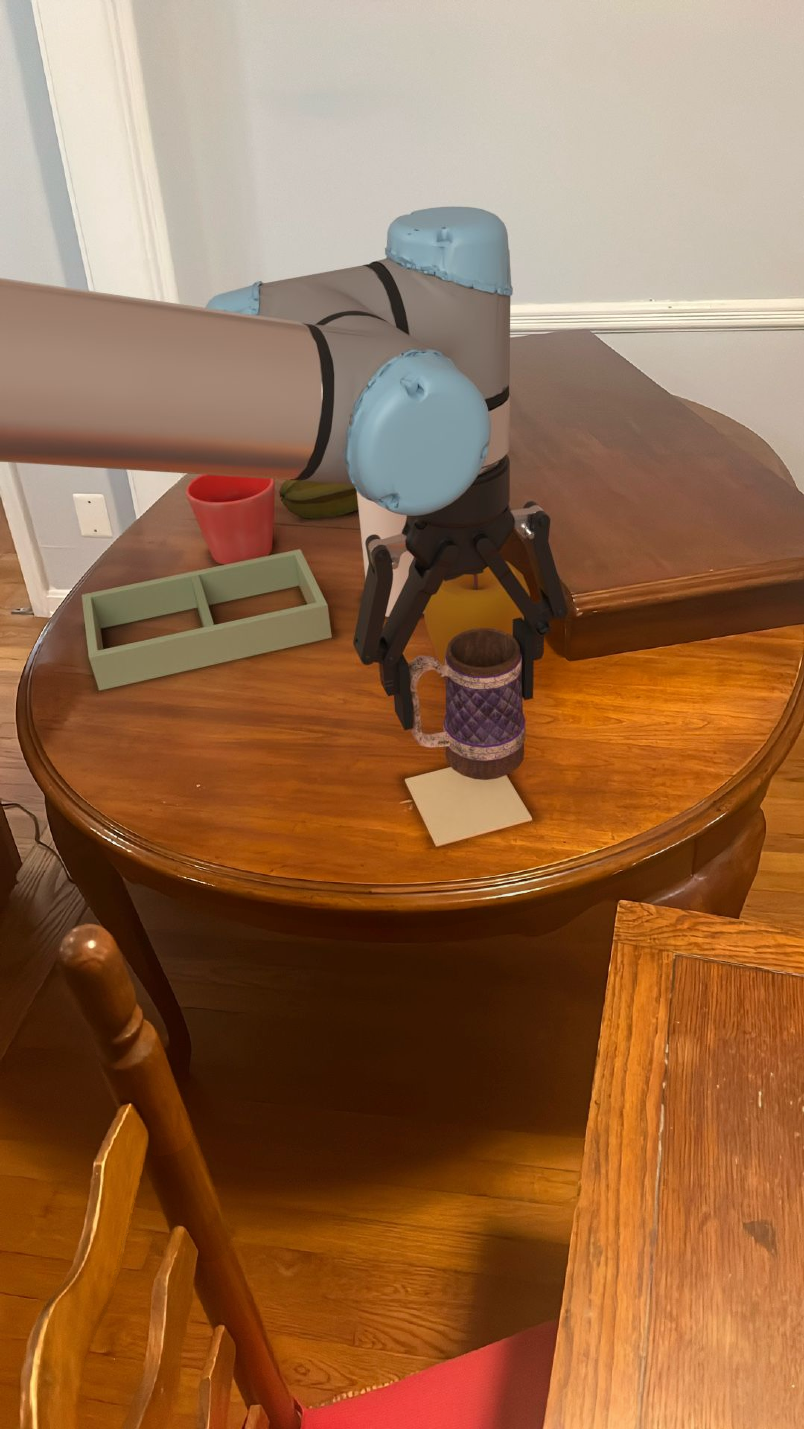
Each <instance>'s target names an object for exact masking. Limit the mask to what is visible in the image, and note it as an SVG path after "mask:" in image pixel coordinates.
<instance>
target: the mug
mask: <svg viewBox="0 0 804 1429" xmlns="http://www.w3.org/2000/svg"><path fill="white" fill-rule="evenodd" d="M408 664H409V676H410V689H411V702H412V716H413V729H410V731H411V735H412V737H413V739H414V740H415V741H416V743H417V744H418V745H419V746H422V747H426V748H443V747H445V748H444V750H445V752H444V754H445V755H444V756H445V759H446V763H447V764H448V765H449V767H452V769H453V770H455V771H456V772H458V773H460V774H461V775H463V776H466V777H469V778H473V779H479V780H490V779H497V778H500V777H503V776H505V775H507V776H508V775H511V774H512V773H514V771H516V770H517V769H519V768H520V766H521V764H522V763H523V762H524V756H525V740H526V733H527V732H526V717H525V715H524V708H523V707H524V706H523V704H524V703H523V697H522V675H521V669H522V654H521V652H520V646H519V644H518V641H517V640H516V639H515V638H514V637H513V636H512V635H510V634H508V633H506V632H504V631H501V630H496V629H492V628H478V629H471V630H468V631H465V632H462V633H460V634H458V635H457V636H455V637H453V638H452V640H451V641H450V642H449V643H448V646H447V652H446V656H445V666H442V665H441V663H440V661H439V660H438V658H437V657H433V656H430V655H417V656H415V658H413V659H412V660H411V661H410V662H409V663H408ZM432 670H433V671H436V672H437V673H438V675H439V676H440V677H441V678H445V714H444V718H443V723H442V724H443V726H442V727H443V728H442V729H443V731H442V732H435V733H430V734H429V733H428V734H427V733H423V731H422V730H423V729H422V720H421V719H422V718H421V711H420V710H421V709H420V701H419V700H420V699H419V695H418V689H417V687H418V683H419V681H420V677H422V676H423V675H424V674H425V673H426V672H428V671H432Z"/></svg>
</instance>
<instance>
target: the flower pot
mask: <svg viewBox="0 0 804 1429" xmlns="http://www.w3.org/2000/svg"><path fill="white" fill-rule="evenodd" d="M275 483H276V482H275V479H267V478H251V477H235V476H219V475H203V474H200V475H199V476H197V477H195V478H194V479H192V480H191V481H190V482H189V483H188V485H187V486H186V489H185V494H186V496H187V499H188V502H189V504H190V507H191V509H192V512H193V514H194V516H195V519H196V521H197V524H198V526H199V529H200V532H201V534H202V536H203V538H204V541H205V543H206V545H207V548H208V549H209V552H210V554H211V557H212V559H213V560H214V561H215V562H216V563H218V564H220V565H227V564H231V563H236V562H241V561H246V560H251V559H255V558H260V557H265V556H270V555H271V552H272V550H273V539H274V526H275V523H274V522H275V498H276V497H275V494H276V492H275V491H276V490H275V488H276V487H275Z"/></svg>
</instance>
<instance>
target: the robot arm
mask: <svg viewBox="0 0 804 1429" xmlns="http://www.w3.org/2000/svg"><path fill="white" fill-rule="evenodd" d="M508 235H509V234H508V230H507V227H506V225H505V223H504V221H503V220H502V219H501V218H500V217H499V216H498V215H496V214H495V213H493V212H490V211H488V210H485V209H483V208H478V207H471V206H436V207H429V208H428V207H427V208H423V209H417V210H414V211H411V212H410V214H403V215H399V216H398V217H396V218H395V219H394V220H392V221H391V223H390V224H389V226H388V229H387V233H386V246H385V247H384V255H385V257H386V258H382V259H379V260H375V261H371V262H370V263H367V264H363V265H356V266H352V267H345V268H340V269H334V270H330V271H324V272H318V273H312V274H307V275H301V276H297V277H291V278H284V279H279V280H274V281H269V282H263V281H262V280H260V281H255V282H254V283H253V284H252V285H247V286H244V287H241V288H237V289H234V290H233V289H232V290H230V291H226V292H223V293H218V294H215V295H214V296H213V297H212V298H211V299H210V300H208V301H207V303H206V305H205V307H203V306H196V305H190V304H189V305H188V304H181V303H175V302H169V301H162V300H161V301H160V300H155V299H148V298H140V297H135V296H134V297H133V296H127V295H120V294H114V293H113V294H112V293H106V292H99V291H93V290H85V289H80V288H79V289H78V288H73V287H65V286H58V285H51V284H44V283H37V282H30V281H23V280H16V279H12V278H11V279H10V278H3V277H0V463H14V464H15V463H16V464H30V465H47V466H60V467H61V466H63V467H80V468H94V469H110V470H126V471H142V472H156V473H157V472H160V473H174V474H190V475H219V476H235V477H251V478H267V479H274V480H285V481H286V480H299V481H310V482H321V483H333V484H348V485H353V486H355V489H356V490H357V492H358V493H359V494H360V495H361V496H362V497H364V498H366V499H367V500H370V501H373V502H375V503H376V504H378V505H379V506H381V507H383V508H385V509H387V510H389V511H391V512H393V513H396V514H401V515H407V518H406V523H405V526H404V528H403V530H402V533H401V534H399V535H395V536H392V537H388V538H384V539H381V538H380V537H379V536H378V535H375V534H374V535H370V536H369V537H368V538H367V539H366V541H365V545H366V550H367V556H368V561H369V565H368V570H367V575H366V580H365V579H364V580H365V581H364V584H363V585H364V586H363V590H362V596H361V599H360V605H359V611H358V615H357V620H356V625H355V631H354V634H353V639H352V645H353V647H354V650H355V651H356V653H357V655H358V657H359V659H360V661H361V663H362V664H363V665H365V666H370V665H373V664H374V663H377V664H378V670H379V671H378V672H379V681H380V684H381V687H382V688H383V691H384V692H385V693H386V694H385V695H387V697H392V696H393V704H394V712H395V714H396V716H397V718H398V721H399V722H400V724H401V726H402V729H403V730H404V731H409V730H411V729H413V716H412V702H411V689H410V676H409V664H410V663H409V662H408V661H407V659H406V657H405V655H404V651H405V650H406V647H407V645H408V643H409V641H410V640H411V637H412V635H413V634H414V632H415V630H416V628H417V626H418V624H419V622H420V620H421V618H422V616H423V615H424V614H423V612H424V610H425V608H426V606H427V604H428V602H429V600H430V598H431V596H432V595H434V594H436V593H437V592H438V590H439V588H440V586H441V584H442V582H443V580H444V581H448V580H453V579H456V578H458V577H460V576H462V575H475V574H480V573H484V571H483V569H485V568H487V567H489V569H490V570H491V571H492V573H493V574H494V576H495V577H496V578H497V580H498V581H499V583H500V584H501V585H502V587H503V588H504V589H505V591H506V592H507V594H508V595H509V596H510V598H511V599H512V601H513V602H514V603H515V605H516V606H517V607H518V609H519V610H520V612H521V613H522V614H523V616H524V620H523V619H522V618H521V617H520V618H516V619H513V637H514V638H515V639H516V640H517V641H518V644H519V646H520V652H521V654H522V669H521V675H522V700H524V701H528V700H531V699H532V700H533V699H534V672H535V671H534V670H535V668H534V665H535V661H538V660H542V658H543V656H544V652H545V650H544V649H545V636H547V635H549V633H550V632H551V629H552V626H551V624H550V623H549V622H551V621H553V620H555V619H556V620H562V619H565V618H566V617H567V615H568V613H569V608H568V607H567V602H566V599H565V594H564V592H563V587H562V585H561V581H560V577H559V573H558V571H557V567H556V564H555V560H554V556H553V552H552V548H551V546H550V542H549V538H550V531H551V530H550V528H551V517H550V516H549V515H548V514H547V513H546V511H545V510H544V509H543V508H541V506H540V505H539V504H538V503H537V502H535V501H534V500H529V501H527V502H526V503H525V504H524V506H523V507H522V508H519V509H518V508H517V509H511V508H510V501H511V500H510V498H511V497H510V496H511V494H510V493H511V489H510V488H511V486H510V484H511V462H510V457H509V456H508V455H507V454H508V453H509V452H510V448H511V398H510V395H511V394H510V379H511V378H510V376H511V375H510V374H511V372H510V371H511V370H510V369H511V368H510V367H511V361H510V360H511V296H513V292H514V291H513V290H514V288H513V286H512V270H511V255H510V254H511V252H510V248H509V236H508ZM514 529H515V530H516V532H517V534H518V535H520V537H521V538H522V540H523V544H524V546H525V550H526V554H527V556H528V559H529V562H530V567H531V570H532V573H533V575H534V581H535V583H536V586H537V589H538V593H539V596H540V599H541V600H539V601H537V602H535V601H533V599H532V598H531V595H530V596H529V595H528V594H527V592H526V591H525V589H524V588H523V586H522V585H521V584H520V582H519V581H518V579H517V578H516V576H515V575H514V574H513V572H512V571H511V569H510V567H509V566H508V565H507V563H506V562H505V561H506V560H505V558H503V556H502V555H501V553H500V551H501V550H502V548H503V547H504V545H505V544H506V542H507V540H508V539H509V537H510V535H511V534H512V533H513V531H514ZM406 551H409V552H410V553H411V554H412V555H413V556H414V558H413V560H412V563H411V565H410V567H409V575H408V578H407V580H406V582H405V584H404V586H403V588H402V590H401V592H400V594H399V596H398V598H397V600H396V602H395V605H394V607H393V609H392V611H391V613H390V615H389V617H387V616H386V611H387V606H388V602H389V597H390V593H391V588H392V583H393V569H396V568H398V566H399V562H400V557H401V555H402V554H403V553H404V552H406ZM386 617H387V619H386ZM385 619H386V620H385Z"/></svg>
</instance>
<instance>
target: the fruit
mask: <svg viewBox="0 0 804 1429" xmlns="http://www.w3.org/2000/svg"><path fill="white" fill-rule="evenodd" d="M278 493H279V498H280V501H281V502H282V504H283V505H284V507H285V508H286V509H287V510H288V511H289V512H290V513H292V514H294V515H296V516H298V517H301V518H305V519H313V520H314V519H317V520H318V519H324V518H325V519H326V518H335V517H341V516H344V515H347V514H350V513H353V512H357V511H359V509H358V499H357V490H356V489H355V486H353V485H348V484H333V483H321V482H310V481H299V480H285V481H283V482H282V483H281V485H280V488H279V491H278Z"/></svg>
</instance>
